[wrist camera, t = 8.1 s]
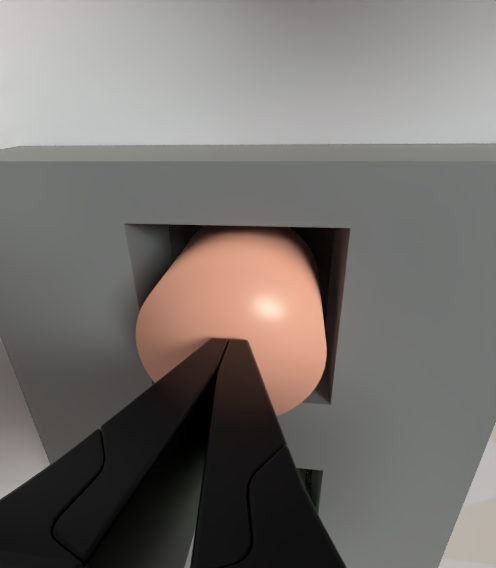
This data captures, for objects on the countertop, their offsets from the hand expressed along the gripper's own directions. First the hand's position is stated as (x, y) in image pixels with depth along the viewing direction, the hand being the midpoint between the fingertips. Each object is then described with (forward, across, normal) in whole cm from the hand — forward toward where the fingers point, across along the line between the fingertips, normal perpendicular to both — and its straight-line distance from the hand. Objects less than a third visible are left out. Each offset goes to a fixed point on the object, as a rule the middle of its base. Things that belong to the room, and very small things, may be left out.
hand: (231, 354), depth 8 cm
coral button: (+4, 0, 0) cm, 4 cm away
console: (+4, 0, +8) cm, 9 cm away
